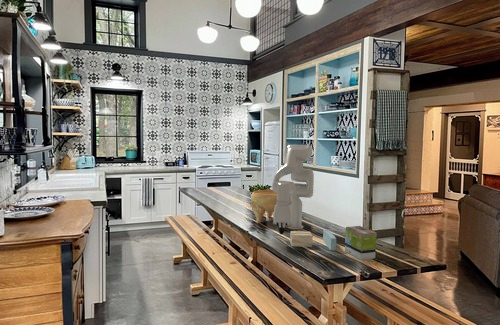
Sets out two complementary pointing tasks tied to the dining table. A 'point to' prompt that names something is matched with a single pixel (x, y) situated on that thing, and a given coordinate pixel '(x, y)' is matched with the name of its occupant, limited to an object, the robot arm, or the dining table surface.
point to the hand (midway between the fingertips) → (281, 233)
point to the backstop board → (329, 239)
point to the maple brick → (301, 238)
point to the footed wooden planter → (263, 203)
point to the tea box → (360, 242)
